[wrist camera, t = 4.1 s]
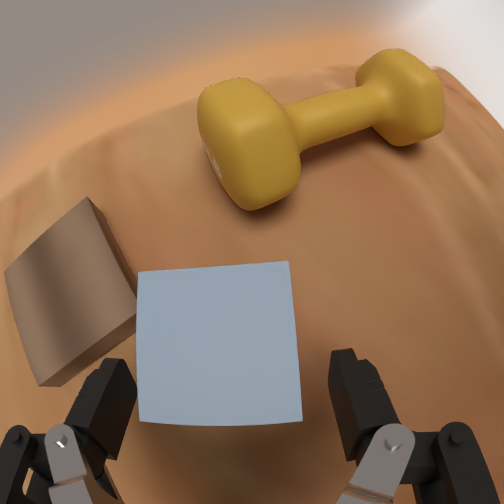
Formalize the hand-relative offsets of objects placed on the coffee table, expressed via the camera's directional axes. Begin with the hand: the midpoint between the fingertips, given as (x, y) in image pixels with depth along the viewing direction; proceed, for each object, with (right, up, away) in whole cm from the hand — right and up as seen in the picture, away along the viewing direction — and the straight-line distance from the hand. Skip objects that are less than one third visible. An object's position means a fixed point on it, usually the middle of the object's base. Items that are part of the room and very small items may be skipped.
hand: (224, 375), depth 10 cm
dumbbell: (+7, +13, +12) cm, 19 cm away
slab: (-12, +1, +9) cm, 15 cm away
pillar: (0, -2, +6) cm, 7 cm away
